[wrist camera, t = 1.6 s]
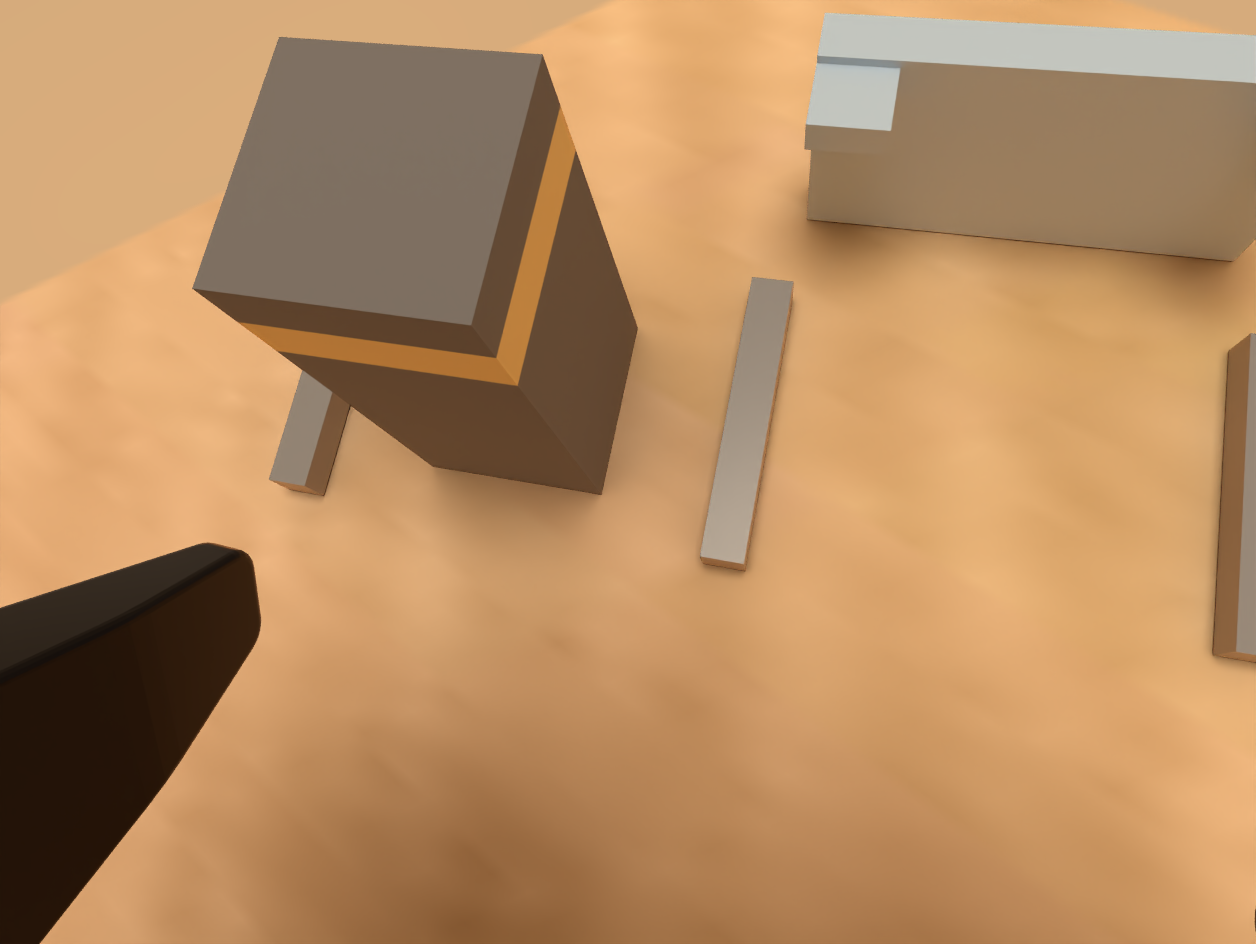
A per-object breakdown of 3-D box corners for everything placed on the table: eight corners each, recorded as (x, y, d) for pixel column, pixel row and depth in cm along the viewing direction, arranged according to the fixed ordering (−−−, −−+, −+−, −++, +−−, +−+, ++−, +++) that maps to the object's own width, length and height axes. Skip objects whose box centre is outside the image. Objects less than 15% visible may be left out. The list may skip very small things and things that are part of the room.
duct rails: (1265, 664, 19) (1479, 640, 13) (289, 489, 23) (133, 415, 18) (1281, 227, 21) (1469, 46, 15) (392, 146, 26) (283, -16, 20)
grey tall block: (601, 494, 22) (471, 325, 13) (432, 466, 23) (192, 288, 13) (637, 327, 23) (542, 54, 14) (475, 307, 24) (279, 36, 15)
